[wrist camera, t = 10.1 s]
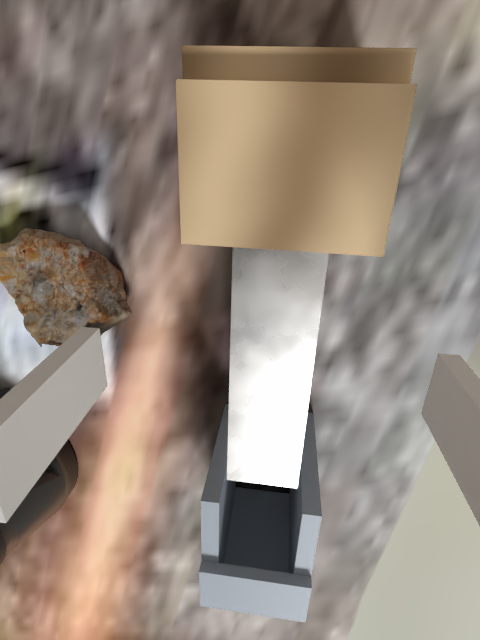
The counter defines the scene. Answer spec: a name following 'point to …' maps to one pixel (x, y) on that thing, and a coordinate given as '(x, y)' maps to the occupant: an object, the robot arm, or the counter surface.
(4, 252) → the rock
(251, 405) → the light grey long block
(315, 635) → the counter surface
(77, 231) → the counter surface
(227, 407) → the grey u-shaped block
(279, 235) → the cardboard box
